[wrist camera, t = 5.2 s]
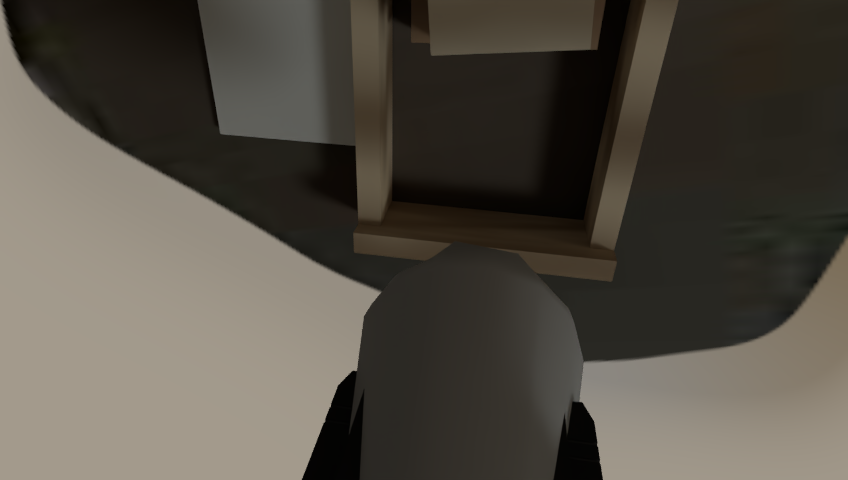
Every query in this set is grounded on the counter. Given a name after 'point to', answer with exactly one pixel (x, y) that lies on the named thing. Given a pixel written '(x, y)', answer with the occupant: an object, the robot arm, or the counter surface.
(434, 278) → the salt shaker
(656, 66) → the frame
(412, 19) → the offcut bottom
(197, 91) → the counter surface
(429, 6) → the offcut top
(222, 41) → the coaster
